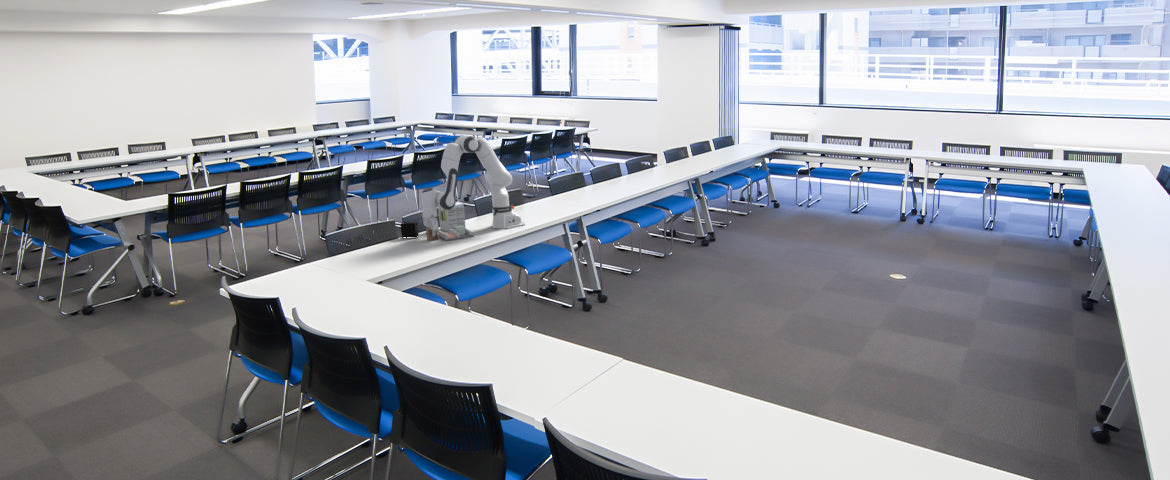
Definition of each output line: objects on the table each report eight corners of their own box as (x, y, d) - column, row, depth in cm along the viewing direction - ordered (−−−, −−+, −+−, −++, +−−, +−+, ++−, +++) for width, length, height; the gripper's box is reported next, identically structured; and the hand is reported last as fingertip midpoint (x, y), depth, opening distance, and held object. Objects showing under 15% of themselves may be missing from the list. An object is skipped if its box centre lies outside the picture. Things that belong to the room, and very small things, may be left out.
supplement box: (439, 229, 516) (437, 203, 511) (457, 225, 523) (454, 200, 519) (448, 232, 505) (446, 206, 501) (466, 228, 513) (464, 203, 508)
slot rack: (464, 231, 506) (463, 222, 504) (473, 236, 490) (473, 227, 489) (436, 235, 497) (435, 227, 495) (445, 241, 482) (444, 232, 480)
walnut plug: (435, 238, 491) (434, 226, 489) (437, 239, 487) (436, 227, 485) (426, 239, 488) (425, 227, 486) (428, 241, 484) (427, 228, 482)
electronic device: (416, 238, 493) (414, 223, 490) (401, 238, 495) (400, 223, 492) (418, 236, 497) (417, 221, 494) (404, 236, 499) (403, 221, 496)
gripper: (440, 215, 476) (442, 237, 479) (429, 210, 493) (431, 231, 497) (430, 217, 473) (432, 238, 476) (420, 211, 490) (422, 232, 494)
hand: (431, 234), depth 487 cm, fingers open, 5 cm apart
